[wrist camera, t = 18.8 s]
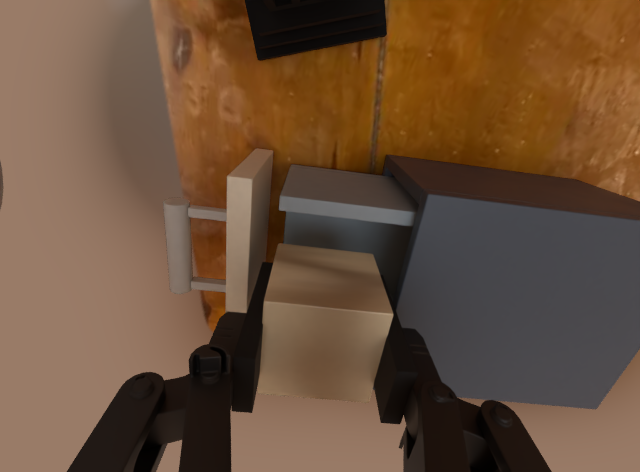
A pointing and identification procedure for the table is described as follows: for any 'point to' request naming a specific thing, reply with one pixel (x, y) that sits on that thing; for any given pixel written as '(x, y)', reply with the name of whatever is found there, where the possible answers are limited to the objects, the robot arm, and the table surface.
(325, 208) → the drawer
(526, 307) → the cabinet
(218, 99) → the table surface
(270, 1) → the chess piece
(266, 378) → the block
